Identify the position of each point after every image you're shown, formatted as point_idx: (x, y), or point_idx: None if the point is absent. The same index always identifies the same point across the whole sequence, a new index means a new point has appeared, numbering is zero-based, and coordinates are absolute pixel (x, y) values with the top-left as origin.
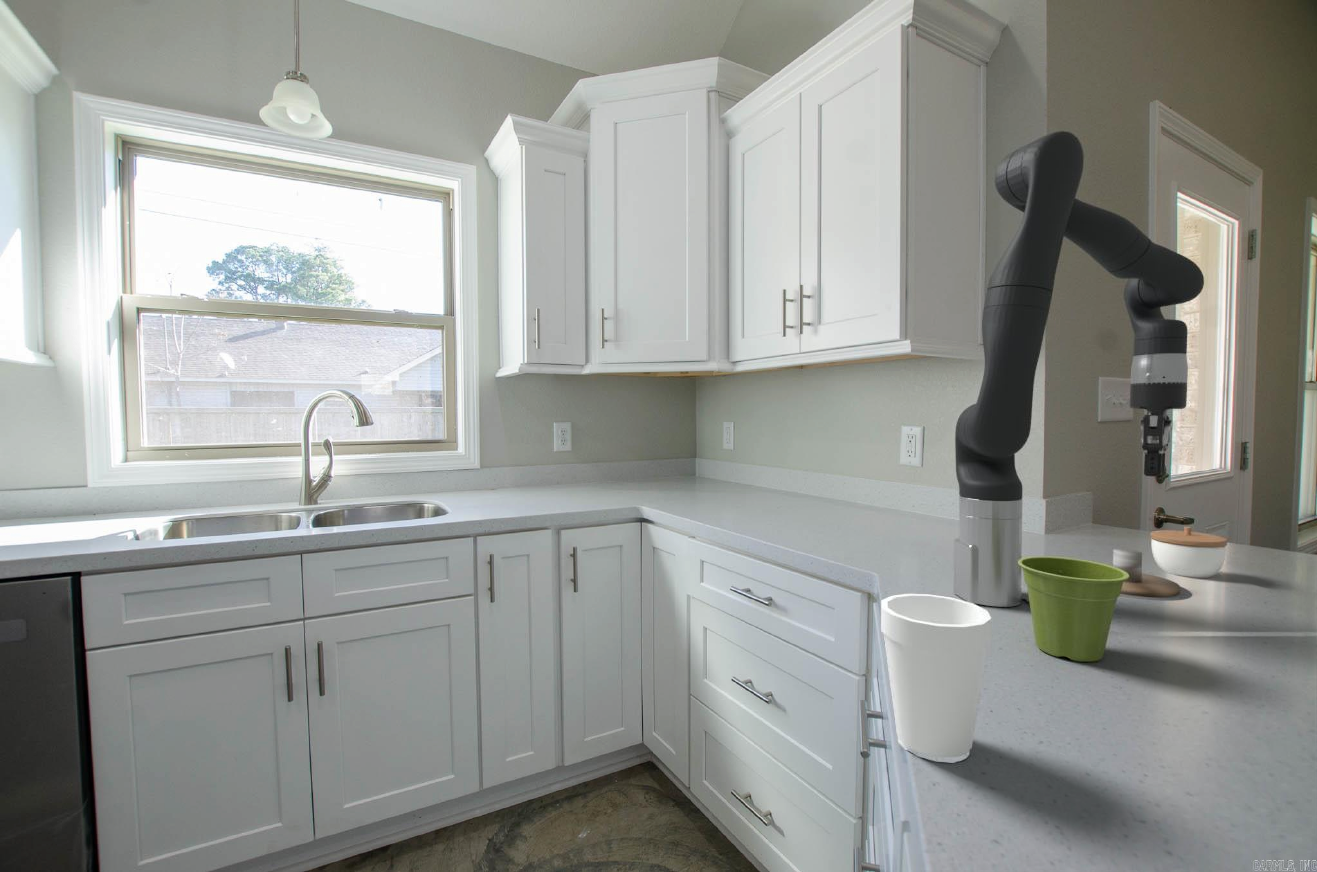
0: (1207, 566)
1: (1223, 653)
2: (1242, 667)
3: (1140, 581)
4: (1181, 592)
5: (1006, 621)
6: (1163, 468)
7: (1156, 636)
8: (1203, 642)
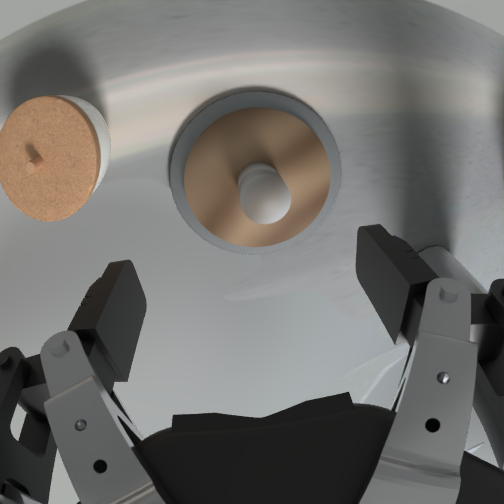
0: (94, 107)
1: (469, 68)
2: (489, 62)
3: (263, 162)
4: (241, 106)
5: (479, 234)
6: (122, 272)
7: (460, 119)
8: (452, 79)
